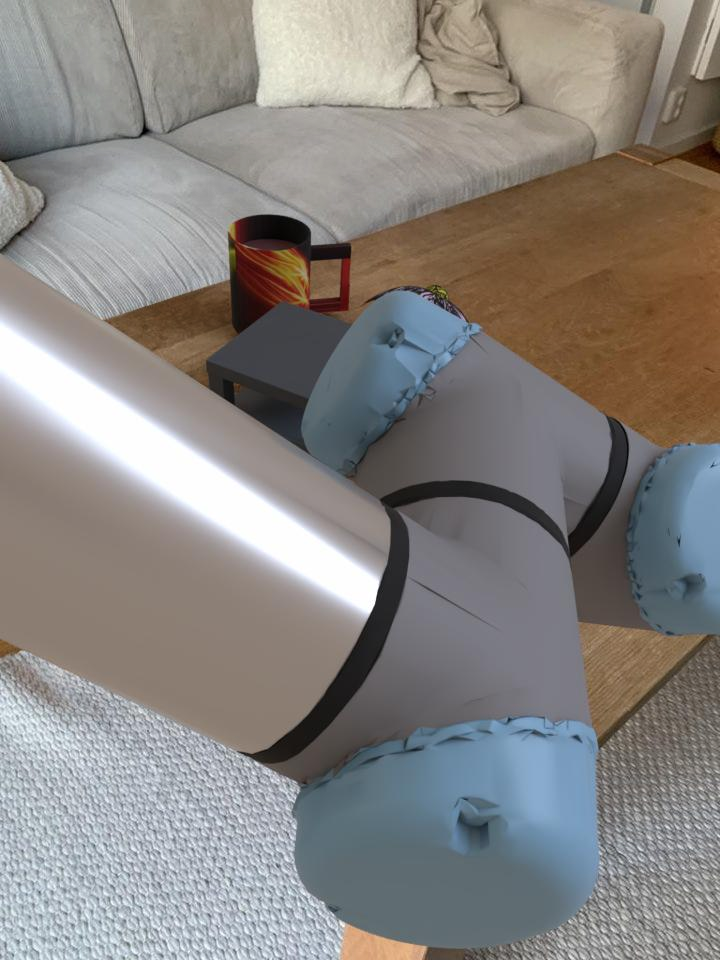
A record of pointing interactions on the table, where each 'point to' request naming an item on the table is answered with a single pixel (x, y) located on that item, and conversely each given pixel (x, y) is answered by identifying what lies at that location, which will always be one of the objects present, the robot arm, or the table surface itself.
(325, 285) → the table surface
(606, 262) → the table surface
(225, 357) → the stand
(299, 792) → the robot arm
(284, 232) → the mug
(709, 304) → the table surface
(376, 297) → the decorative flower
